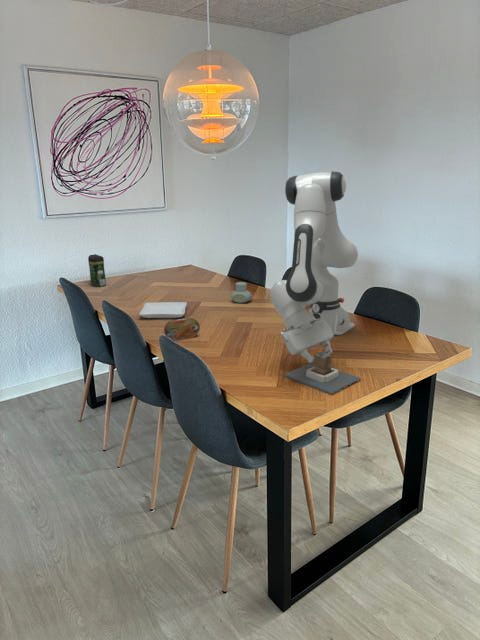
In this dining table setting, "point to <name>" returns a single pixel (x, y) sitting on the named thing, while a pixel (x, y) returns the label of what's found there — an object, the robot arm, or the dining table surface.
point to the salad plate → (163, 310)
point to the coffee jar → (97, 270)
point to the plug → (322, 363)
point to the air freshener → (241, 293)
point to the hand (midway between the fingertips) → (321, 357)
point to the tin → (181, 329)
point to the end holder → (322, 378)
